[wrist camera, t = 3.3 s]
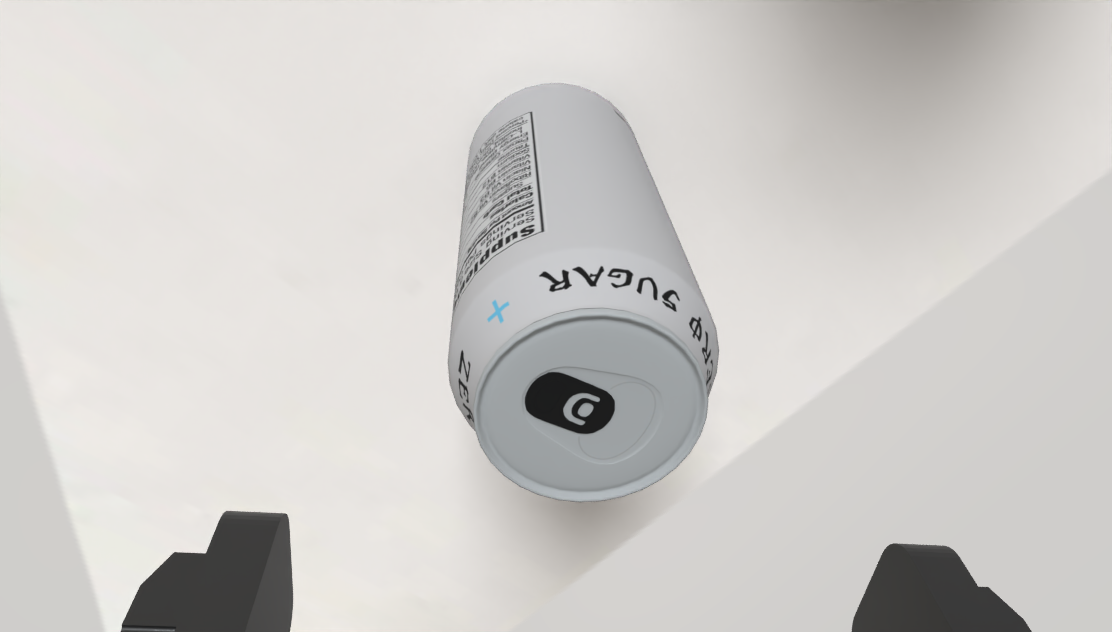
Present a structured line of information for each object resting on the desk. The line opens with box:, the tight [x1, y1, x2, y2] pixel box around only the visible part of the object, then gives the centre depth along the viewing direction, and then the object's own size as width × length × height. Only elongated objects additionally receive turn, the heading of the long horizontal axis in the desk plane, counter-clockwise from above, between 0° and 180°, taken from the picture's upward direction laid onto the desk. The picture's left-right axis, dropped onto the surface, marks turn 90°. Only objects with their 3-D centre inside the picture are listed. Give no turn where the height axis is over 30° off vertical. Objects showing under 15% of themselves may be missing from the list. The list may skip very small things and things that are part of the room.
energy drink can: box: [448, 83, 719, 502], centre depth 23 cm, size 6×6×15 cm
